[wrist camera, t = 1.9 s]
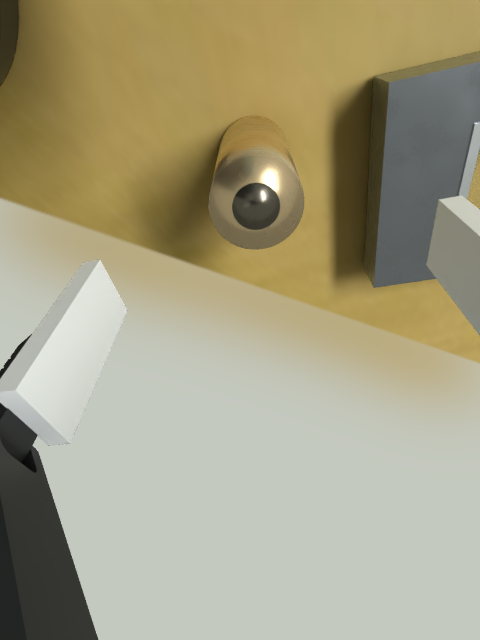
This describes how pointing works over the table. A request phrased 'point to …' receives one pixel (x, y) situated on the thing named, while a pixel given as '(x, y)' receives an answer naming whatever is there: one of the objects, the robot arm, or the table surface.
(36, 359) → the robot arm
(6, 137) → the table surface
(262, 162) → the brass domed cylinder
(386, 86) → the plate
